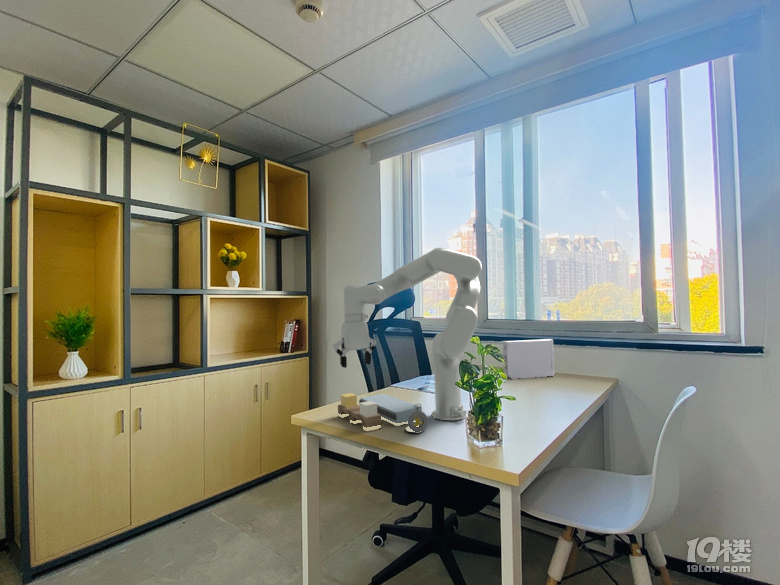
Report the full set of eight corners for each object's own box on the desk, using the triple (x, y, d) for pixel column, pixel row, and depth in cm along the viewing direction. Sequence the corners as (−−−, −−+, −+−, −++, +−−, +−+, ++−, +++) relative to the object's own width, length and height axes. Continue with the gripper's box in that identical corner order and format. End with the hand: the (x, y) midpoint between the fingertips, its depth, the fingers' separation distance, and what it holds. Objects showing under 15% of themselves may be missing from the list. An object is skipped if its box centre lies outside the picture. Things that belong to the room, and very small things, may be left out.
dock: (422, 420, 139) (421, 406, 139) (395, 427, 132) (395, 412, 132) (383, 405, 160) (383, 393, 161) (359, 410, 154) (359, 398, 154)
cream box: (377, 415, 132) (376, 403, 132) (366, 417, 130) (365, 405, 130) (370, 412, 136) (370, 400, 136) (359, 414, 134) (359, 402, 134)
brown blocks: (381, 428, 132) (381, 415, 132) (366, 432, 128) (366, 418, 128) (352, 413, 150) (351, 402, 150) (338, 416, 147) (337, 405, 147)
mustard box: (356, 405, 145) (356, 395, 145) (346, 407, 143) (346, 397, 143) (351, 403, 149) (351, 393, 149) (341, 405, 146) (340, 394, 146)
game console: (556, 376, 208) (554, 339, 208) (508, 379, 204) (507, 342, 204) (550, 374, 213) (548, 338, 214) (503, 377, 210) (502, 341, 210)
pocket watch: (412, 426, 133) (411, 397, 133) (432, 431, 128) (431, 400, 128) (397, 433, 127) (396, 402, 127) (418, 438, 121) (417, 406, 122)
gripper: (370, 317, 148) (371, 361, 148) (328, 319, 139) (330, 367, 139) (380, 317, 142) (381, 364, 142) (337, 320, 133) (338, 369, 133)
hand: (356, 365), depth 140 cm, fingers open, 9 cm apart
